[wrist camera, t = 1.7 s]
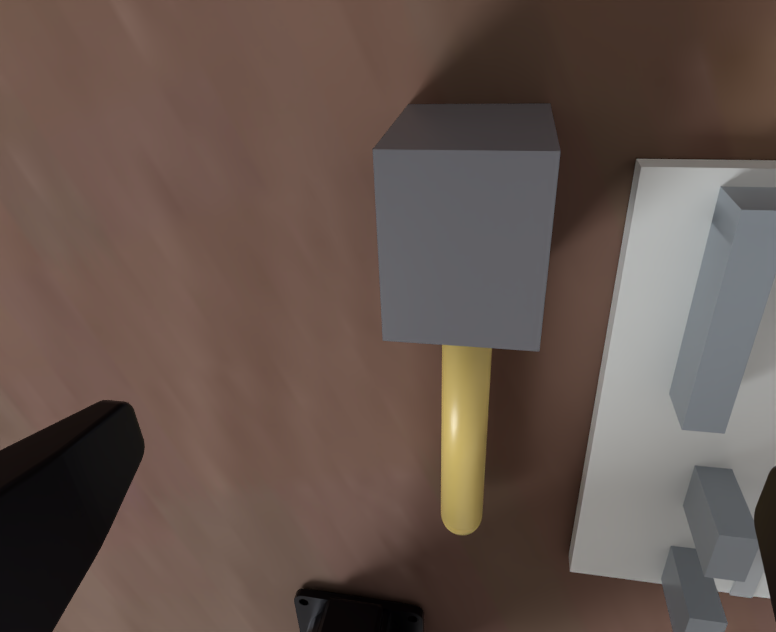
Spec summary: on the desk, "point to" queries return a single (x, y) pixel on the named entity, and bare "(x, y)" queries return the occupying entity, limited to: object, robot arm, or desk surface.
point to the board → (686, 390)
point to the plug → (465, 259)
